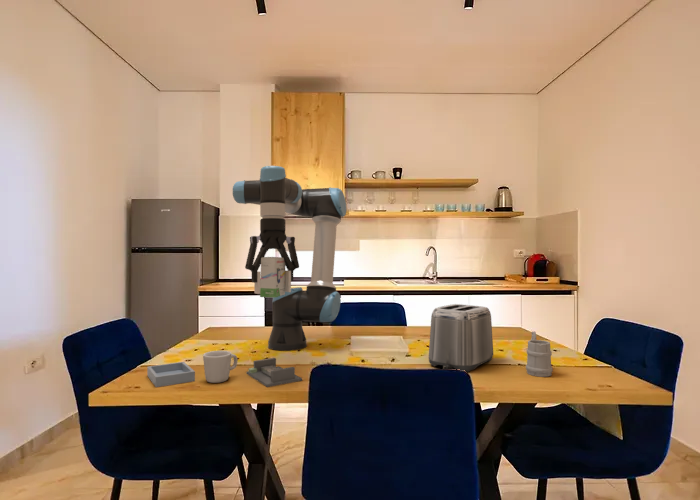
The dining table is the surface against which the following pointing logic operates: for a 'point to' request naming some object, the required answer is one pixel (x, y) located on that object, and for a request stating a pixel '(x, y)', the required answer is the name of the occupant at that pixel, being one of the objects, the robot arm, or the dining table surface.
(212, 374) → the cup
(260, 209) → the robot arm
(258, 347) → the dining table surface
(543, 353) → the mug
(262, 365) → the cradle
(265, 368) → the checker pad
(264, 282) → the ink box
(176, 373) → the trough
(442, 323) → the toaster
